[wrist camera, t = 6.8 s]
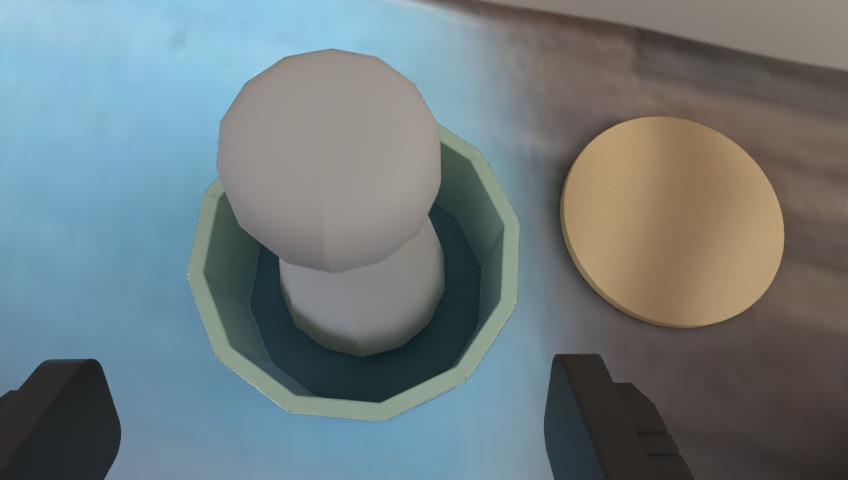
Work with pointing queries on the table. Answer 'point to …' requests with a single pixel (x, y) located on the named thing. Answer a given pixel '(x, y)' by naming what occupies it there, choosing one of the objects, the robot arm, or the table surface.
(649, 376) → the table surface
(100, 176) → the table surface
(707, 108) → the table surface
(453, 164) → the cup
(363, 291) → the salt shaker
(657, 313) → the coaster
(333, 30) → the table surface
